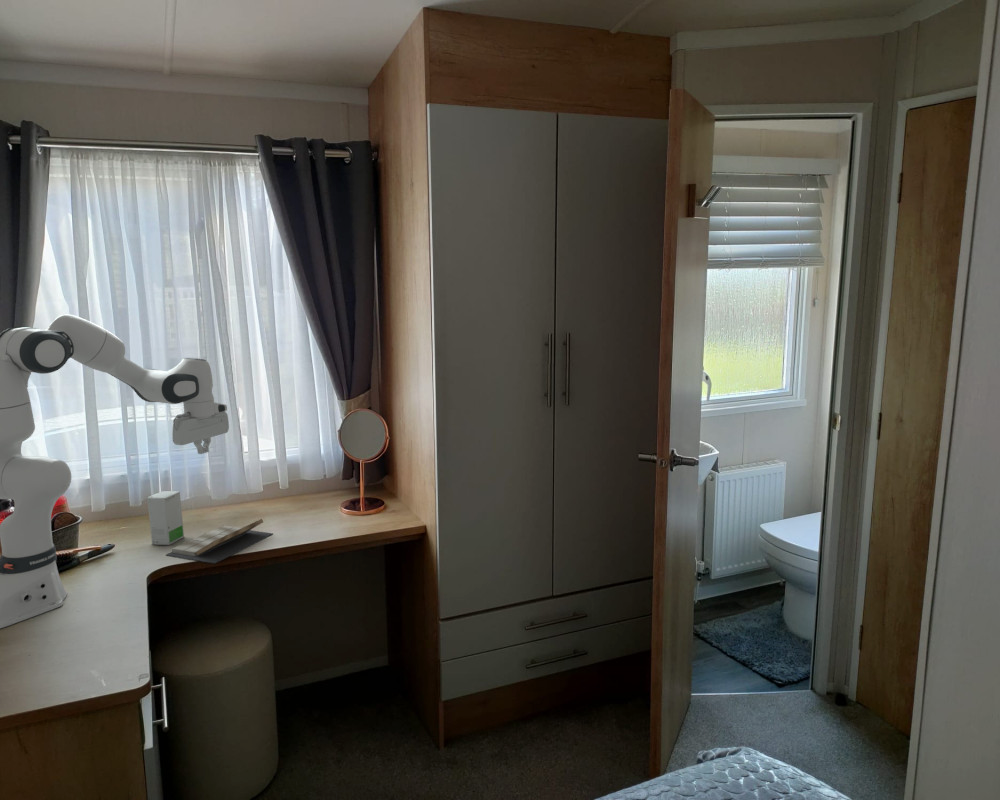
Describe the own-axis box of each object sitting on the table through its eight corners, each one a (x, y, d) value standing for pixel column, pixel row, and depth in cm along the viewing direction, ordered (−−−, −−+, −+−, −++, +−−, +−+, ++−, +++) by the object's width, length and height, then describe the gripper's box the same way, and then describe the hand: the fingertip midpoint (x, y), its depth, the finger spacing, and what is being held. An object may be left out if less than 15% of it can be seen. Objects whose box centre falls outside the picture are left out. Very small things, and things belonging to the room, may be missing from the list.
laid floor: (194, 556, 217) (194, 552, 217) (172, 552, 220) (171, 548, 220) (245, 532, 237) (245, 528, 237) (223, 529, 240) (223, 525, 240)
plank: (213, 545, 213) (211, 542, 213) (197, 555, 217) (195, 551, 217) (263, 522, 234) (261, 518, 234) (247, 531, 237) (245, 528, 237)
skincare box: (168, 546, 227) (164, 498, 224) (150, 544, 228) (145, 497, 225) (185, 536, 235) (180, 490, 232) (167, 535, 236) (162, 489, 233)
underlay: (214, 563, 212) (214, 562, 212) (165, 555, 219) (165, 554, 219) (272, 534, 236) (272, 533, 235) (226, 527, 242) (226, 526, 242)
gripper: (181, 416, 212) (185, 461, 214) (230, 404, 231) (234, 446, 233) (165, 415, 214) (169, 460, 217) (215, 403, 233) (218, 445, 235)
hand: (203, 453), depth 225 cm, fingers closed
